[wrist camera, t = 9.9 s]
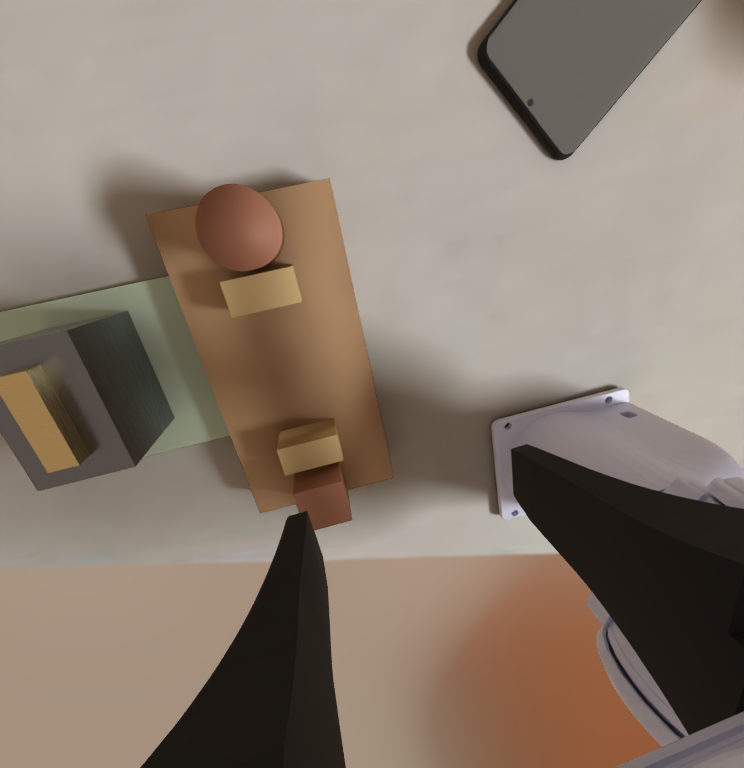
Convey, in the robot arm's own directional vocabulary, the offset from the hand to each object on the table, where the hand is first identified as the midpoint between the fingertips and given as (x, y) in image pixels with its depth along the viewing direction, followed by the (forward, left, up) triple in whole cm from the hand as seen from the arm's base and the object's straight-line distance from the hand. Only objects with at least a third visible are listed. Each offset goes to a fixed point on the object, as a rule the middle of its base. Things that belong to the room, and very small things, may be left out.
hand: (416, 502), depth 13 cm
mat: (+13, -4, -10) cm, 17 cm away
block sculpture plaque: (+4, -3, -10) cm, 12 cm away
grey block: (+13, -5, -10) cm, 17 cm away
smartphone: (-16, -17, -11) cm, 26 cm away
